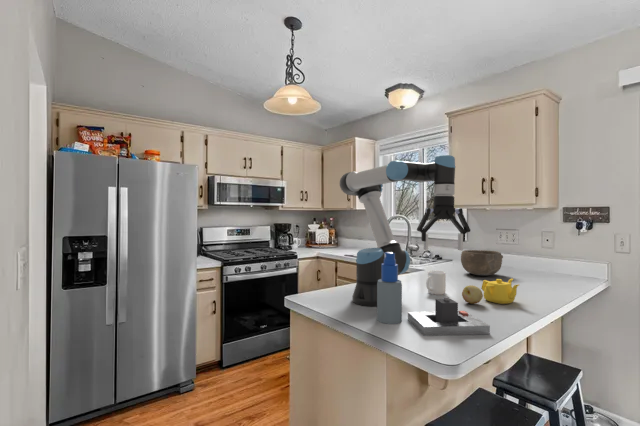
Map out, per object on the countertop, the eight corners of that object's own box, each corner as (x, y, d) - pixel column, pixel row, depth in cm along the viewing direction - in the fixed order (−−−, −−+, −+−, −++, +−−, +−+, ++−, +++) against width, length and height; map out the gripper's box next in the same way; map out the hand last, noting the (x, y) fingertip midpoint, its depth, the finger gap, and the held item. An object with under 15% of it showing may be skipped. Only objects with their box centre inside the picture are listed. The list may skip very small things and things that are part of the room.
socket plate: (424, 335, 107) (424, 324, 107) (407, 319, 123) (407, 310, 123) (489, 334, 109) (489, 323, 109) (465, 318, 125) (465, 309, 125)
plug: (442, 329, 113) (442, 299, 113) (435, 324, 119) (435, 295, 119) (457, 329, 113) (457, 299, 113) (450, 323, 119) (450, 295, 119)
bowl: (504, 274, 214) (504, 250, 214) (501, 280, 193) (501, 254, 193) (464, 270, 227) (464, 248, 227) (457, 276, 206) (457, 252, 206)
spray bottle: (380, 324, 118) (381, 254, 118) (374, 316, 127) (374, 251, 127) (405, 323, 119) (405, 253, 119) (397, 315, 128) (397, 250, 128)
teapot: (520, 307, 140) (520, 283, 140) (484, 304, 145) (485, 281, 144) (512, 298, 153) (513, 277, 153) (480, 296, 158) (480, 275, 157)
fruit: (459, 301, 148) (459, 283, 148) (478, 301, 148) (478, 283, 148) (466, 306, 141) (466, 287, 141) (486, 306, 141) (486, 287, 141)
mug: (433, 297, 156) (434, 275, 156) (419, 293, 163) (419, 272, 163) (449, 293, 163) (449, 272, 163) (434, 290, 170) (434, 269, 170)
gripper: (415, 194, 125) (414, 250, 126) (480, 195, 126) (479, 251, 126) (409, 195, 133) (408, 248, 133) (471, 196, 133) (470, 249, 134)
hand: (443, 250), depth 130 cm, fingers open, 13 cm apart
